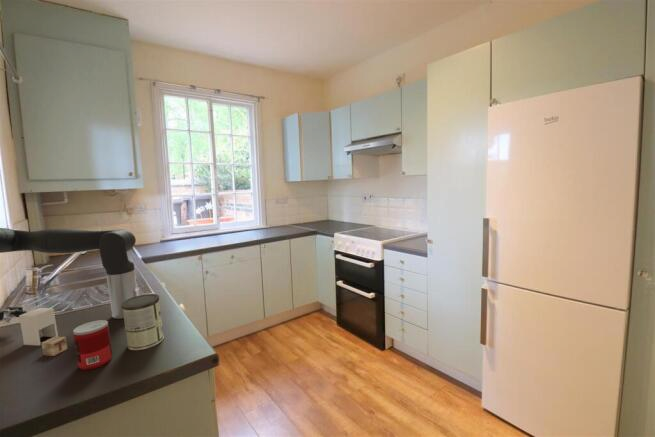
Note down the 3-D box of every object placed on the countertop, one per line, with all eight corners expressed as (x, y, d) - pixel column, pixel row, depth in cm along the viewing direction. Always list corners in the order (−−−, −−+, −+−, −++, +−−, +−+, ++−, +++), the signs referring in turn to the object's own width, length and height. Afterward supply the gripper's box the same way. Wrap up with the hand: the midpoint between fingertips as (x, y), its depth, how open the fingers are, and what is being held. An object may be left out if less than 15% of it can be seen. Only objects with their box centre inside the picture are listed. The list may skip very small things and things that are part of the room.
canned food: (119, 356, 92) (114, 321, 91) (91, 372, 85) (85, 334, 83) (100, 353, 95) (95, 318, 93) (72, 368, 87) (66, 331, 86)
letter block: (43, 355, 95) (41, 342, 95) (57, 348, 99) (55, 336, 99) (54, 356, 94) (52, 343, 94) (67, 349, 98) (65, 337, 98)
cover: (24, 344, 102) (19, 315, 101) (43, 335, 108) (39, 307, 107) (39, 345, 101) (34, 316, 100) (58, 336, 107) (53, 308, 106)
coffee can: (123, 342, 100) (117, 300, 99) (158, 331, 107) (153, 291, 106) (131, 354, 93) (125, 309, 91) (168, 341, 100) (163, 298, 98)
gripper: (-58, 316, 100) (-18, 318, 98) (-5, 299, 114) (32, 300, 112) (-53, 338, 101) (-13, 340, 99) (-1, 319, 115) (35, 320, 113)
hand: (11, 319), depth 105 cm, fingers open, 8 cm apart
